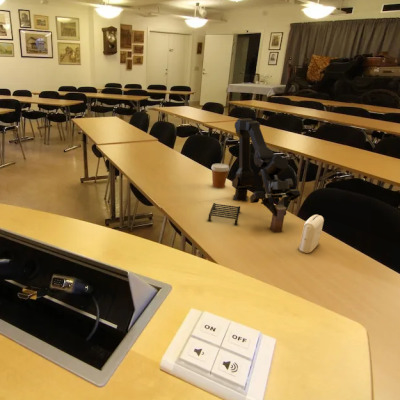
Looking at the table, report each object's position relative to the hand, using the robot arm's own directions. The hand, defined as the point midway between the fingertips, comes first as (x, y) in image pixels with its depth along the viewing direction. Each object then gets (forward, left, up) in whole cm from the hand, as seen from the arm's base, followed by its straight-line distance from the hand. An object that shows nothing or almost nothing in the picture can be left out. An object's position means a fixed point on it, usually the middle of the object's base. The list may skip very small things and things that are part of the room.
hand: (280, 215), depth 126 cm
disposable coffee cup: (-46, -29, -7) cm, 55 cm away
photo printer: (+9, +10, -7) cm, 15 cm away
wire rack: (-7, -22, -7) cm, 24 cm away
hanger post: (-1, -1, -7) cm, 7 cm away
